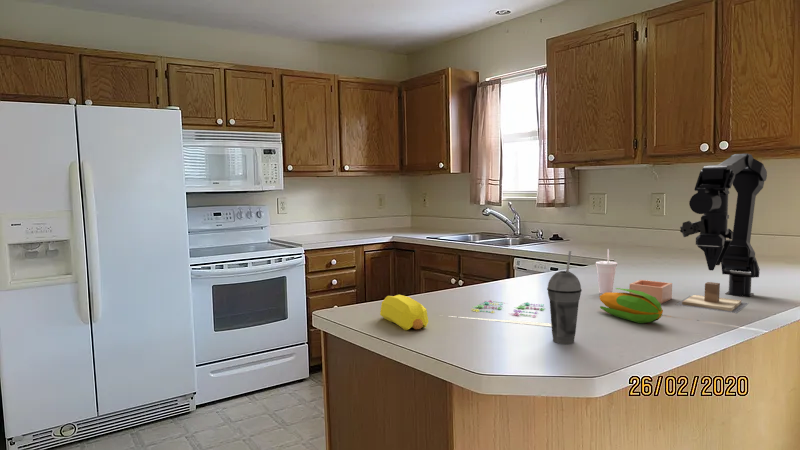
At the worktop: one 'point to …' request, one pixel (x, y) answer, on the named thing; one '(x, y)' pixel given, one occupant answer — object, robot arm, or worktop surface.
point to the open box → (653, 289)
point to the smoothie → (606, 275)
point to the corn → (632, 306)
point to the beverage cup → (564, 304)
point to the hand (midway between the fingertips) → (714, 267)
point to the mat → (716, 309)
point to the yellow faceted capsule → (404, 312)
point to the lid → (712, 299)
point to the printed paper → (545, 324)
